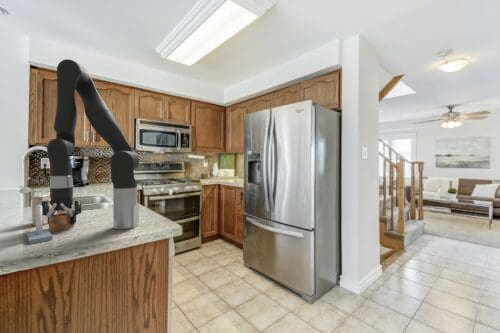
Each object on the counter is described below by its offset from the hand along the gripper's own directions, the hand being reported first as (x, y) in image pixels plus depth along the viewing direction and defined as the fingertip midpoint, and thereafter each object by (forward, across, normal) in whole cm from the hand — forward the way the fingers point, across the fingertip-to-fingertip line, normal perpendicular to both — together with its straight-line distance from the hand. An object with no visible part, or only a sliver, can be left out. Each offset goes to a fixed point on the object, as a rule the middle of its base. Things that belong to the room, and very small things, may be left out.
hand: (62, 224), depth 96 cm
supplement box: (+2, +13, -9) cm, 16 cm away
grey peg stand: (+1, 0, +12) cm, 12 cm away
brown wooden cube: (+1, 0, 0) cm, 1 cm away
